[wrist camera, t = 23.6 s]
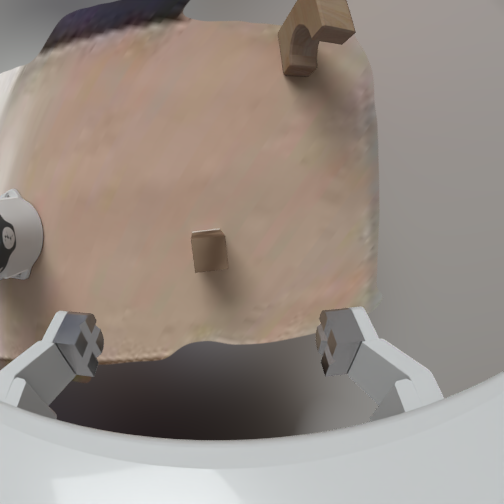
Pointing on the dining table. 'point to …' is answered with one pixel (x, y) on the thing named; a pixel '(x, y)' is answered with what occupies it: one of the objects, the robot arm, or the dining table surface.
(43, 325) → the dining table surface
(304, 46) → the decorative block
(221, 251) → the walnut block
